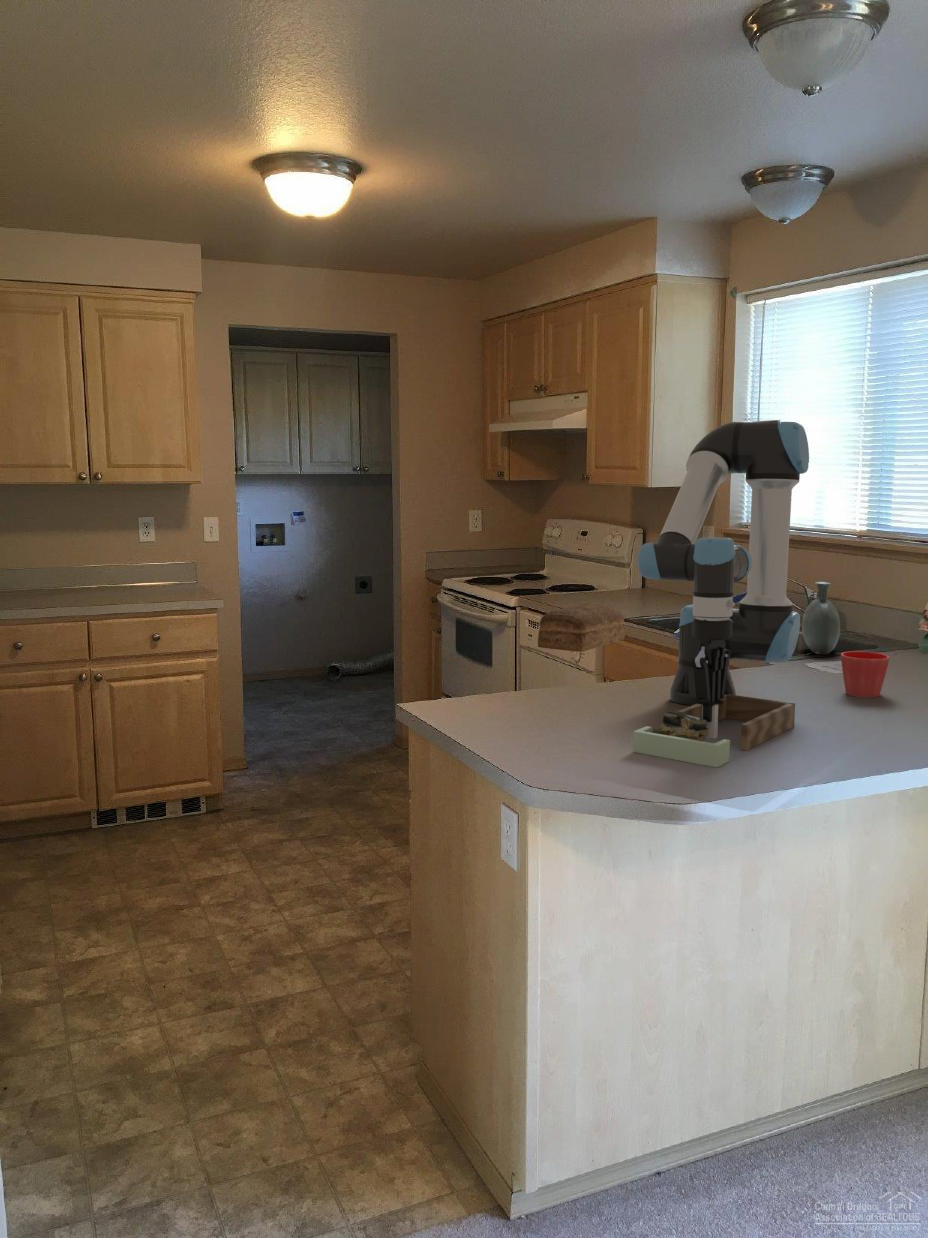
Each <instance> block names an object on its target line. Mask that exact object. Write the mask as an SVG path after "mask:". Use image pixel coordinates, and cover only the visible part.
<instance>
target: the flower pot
mask: <svg viewBox="0 0 928 1238" xmlns="http://www.w3.org/2000/svg"><path fill="white" fill-rule="evenodd" d="M840 658H841V659H840V661H841V668H842V677H843V683H844V688H845V693H846V694H848V695H849V696H853V697H858V698H876V697H879V696H880V694H881V692H882V688H883V685H884V682H885V678H886V676H887V675H886V674H887V670H888V666H889V663H890V662H889V661H890V656H889V655H886V654H883V653H879V652H871V651H861V650H859V651H857V650H856V651H855V650H853V651H844V652H842V653H840Z"/></svg>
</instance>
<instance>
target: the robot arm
mask: <svg viewBox="0 0 928 1238" xmlns="http://www.w3.org/2000/svg"><path fill="white" fill-rule="evenodd" d="M809 450H810V449H809V441H808V437H807V432H806V429H805V428H804V426H803V424H802V423H801V422H800V421H797V420H787V419H775V420H774V419H772V420H771V419H769V420H750V421H749V420H748V421H738V420H737V421H731V422H726V423H724V424H722V425H720V426H717V427H716V428H715V429H713V430H711V431H710V432H709V433H707V434H706V435H705V436H704V437H702V438H701V440H700V441H698V443H697V444H696V445H695V446H694V447H693V449H692V451H691V452H690V454H689V456H688V458H687V460H686V463H685V467H686V474H685V476H684V478H683V482H682V484H681V486H680V489H679V491H678V493H677V496H676V497H675V500H674V502H673V505H672V506H671V509H670V510H669V511H670V512H669V513H668V516H667V518H666V520H665V522H664V525H663V528H662V530H661V532H660V534H659V536H658V538H657V540H656V542H654V541H651V542H645V543H644V544H642V545H641V546H640V548H639V551H638V556H637V565H638V566H637V567H638V571H639V573H640V575H641V576H642V577H643V578H644V579H649V580H650V579H652V580H658V581H685V582H686V581H687V582H688V581H689V582H690V581H691V582H693V593H692V604H688V605H685V606H684V607H683V608H682V609H681V610H680V614H679V615H680V617H679V624H678V627H679V630H678V631H679V633H678V635H679V637H678V639H679V640H678V641H679V642H678V667H677V671H676V673H675V675H674V676H675V677H674V679H673V681H672V684H671V688H670V691H669V693H670V695H669V699H670V701H672V702H674V703H677V704H681V705H687V706H693V705H695V704H702V719H705V720H706V721H707V725H706V727H707V728H708V729H709V731H708V735H706V737H705V738H708V739H714V740H715V739H717V738H718V735H719V734H718V728H719V725H718V723H719V721H718V704H723V703H724V701H722V700H720V699H723V698H724V694H730V695H737V691H736V687H735V684H734V680H733V678H732V675H731V671H730V659H731V660H739V661H740V660H741V661H752V662H753V661H754V662H764V663H766V664H769V663H780V664H782V663H786V662H787V661H789V660H790V659H791V658H792V656H793V655H794V653H795V650H796V646H797V643H798V640H799V636H800V635H799V634H800V630H801V629H800V628H801V616H800V614H799V612H796V611H794V609H793V608H794V607H793V606H794V605H793V602H792V601H791V599H789V598H788V597H787V587H788V585H787V584H788V571H789V570H788V568H789V552H790V551H789V547H790V529H791V511H792V493H793V489H794V488H795V487H796V485H798V484H799V483H800V476H801V475H802V474H803V475H804V474H805V473H807V472H808V470H809V463H810V451H809ZM731 474H732V475H733V474H745V483H746V484H747V485H748V486H749V487H750V488H751V501H750V502H751V504H750V506H751V507H750V519H749V520H750V522H749V523H750V525H749V543H748V544H749V545H748V549H747V548H746V547H745V546H743V545H739V544H736V543H735V541H734V540H733V538H729V537H700V538H698V536H699V534H700V531H701V529H702V527H703V525H704V523H705V522H704V521H705V520H706V517H707V514H708V512H709V511H710V507H711V504H712V503H713V500H714V497H715V495H716V493H717V491H718V488H719V486H720V484H722V483H724V482H725V481H726V479H727V478H728V477H729V475H731ZM800 474H801V475H800ZM746 577H747V584H746V594H745V596H744V597H743V598H742V599H741V600H740V601H739V606H738V608H734V607H735V606H736V604H735V602H734V583H738V582H740V581H742V580H743V579H744V578H746Z"/></svg>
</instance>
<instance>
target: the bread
mask: <svg viewBox="0 0 928 1238" xmlns="http://www.w3.org/2000/svg"><path fill="white" fill-rule="evenodd" d="M624 621H625V617H624V615H623V614H622V612H621V611H620V610H619V609H618V608H616V607H614V606H611V605H609V604H608V605H606V604H597V603H591V602H585V603H582V604H578V605H573V606H568V607H567V606H566V607H564V608H559V609H554V610H551V611H549V612H546V613H545V614H544V615H543V616H542V617H541V618H540V621H539V631H538V636H537V648H543V649H551V650H560V651H570V652H581V653H582V652H585V651H589V650H592V649H595V648H596V649H597V648H600V647H603V646H606V645H610V644H614V643H616V642H620V641H623V640H625V637H626V631H625V630H626V629H625V626H624Z"/></svg>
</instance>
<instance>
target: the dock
mask: <svg viewBox="0 0 928 1238" xmlns="http://www.w3.org/2000/svg"><path fill="white" fill-rule="evenodd" d="M652 730H653V727H652V726H649V725H646V726H644V727H642V728H638V729H636V730H634V731H633V734H632V735H633V736H632V737H633V739H632V752H633V753H637V754H643V755H647V756H653V757H659V758H665V759H669V760H675V761H680V762H681V761H682V762H687V763H691V764H695V765H696V764H697V765H701V766H702V765H703V766H706V767H712V768H718V767H721V766H723V765H725V764H727V763H729V762H730V754H731V753H730V751H731V750H730V749H731V740H730V739H725V738H724V739H722V740H719V741H717V742H715V743H714V742H708V741H704V742H703V741H697V740H691V739H685V738H680V737H674V736H668V735H662V734H656V733H652Z"/></svg>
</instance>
